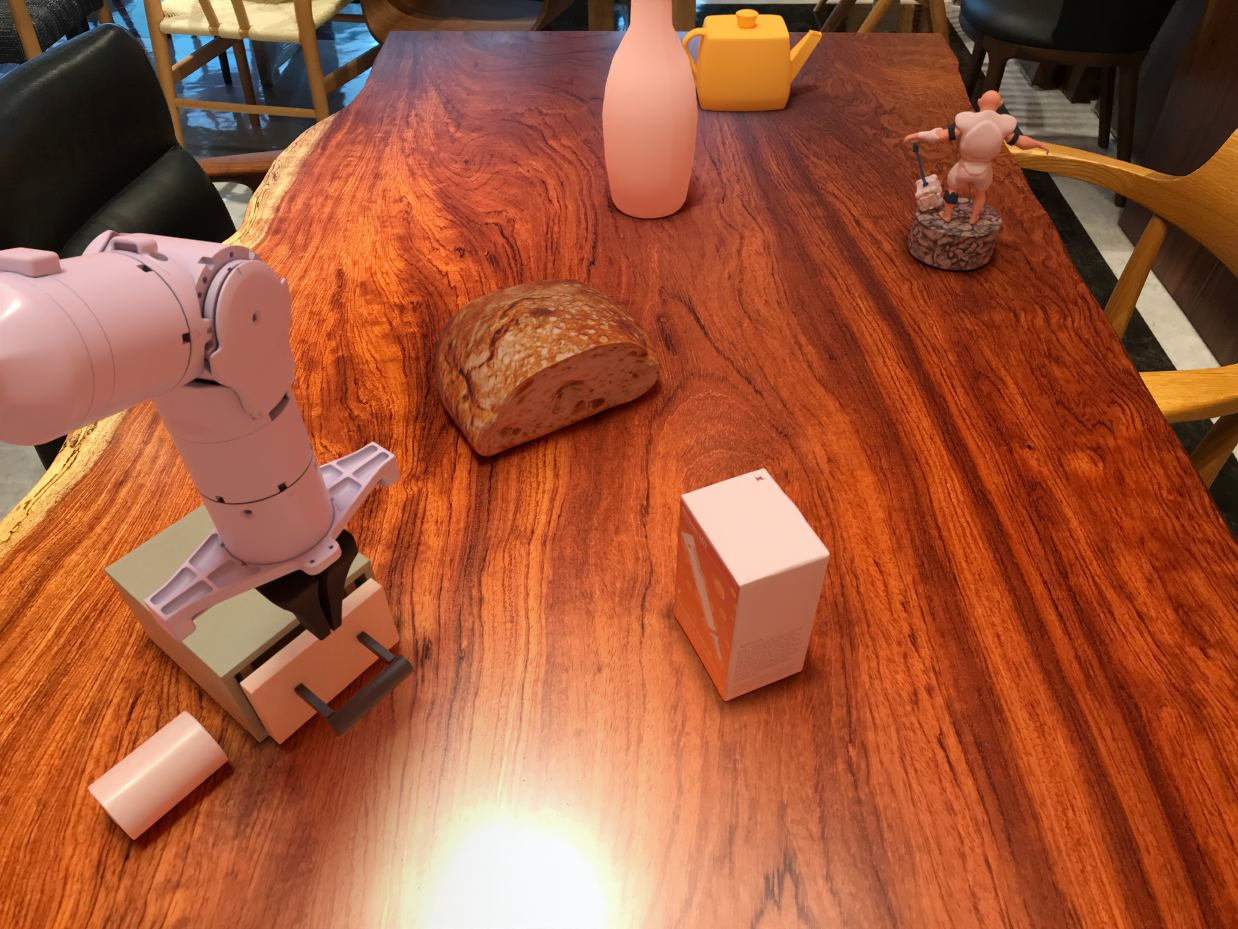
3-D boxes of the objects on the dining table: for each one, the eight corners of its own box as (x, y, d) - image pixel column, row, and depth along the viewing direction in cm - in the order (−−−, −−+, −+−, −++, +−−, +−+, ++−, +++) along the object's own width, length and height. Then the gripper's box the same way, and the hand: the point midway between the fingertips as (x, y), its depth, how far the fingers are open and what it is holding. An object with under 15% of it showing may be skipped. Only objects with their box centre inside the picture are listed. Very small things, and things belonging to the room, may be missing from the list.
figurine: (1012, 238, 102) (1065, 79, 89) (1019, 278, 96) (1077, 114, 83) (882, 226, 104) (916, 69, 92) (882, 264, 98) (918, 103, 86)
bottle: (669, 232, 104) (677, -2, 86) (587, 211, 108) (578, -17, 90) (708, 192, 111) (722, -32, 93) (629, 173, 115) (629, -45, 97)
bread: (472, 471, 76) (455, 380, 69) (413, 355, 87) (394, 267, 80) (682, 403, 82) (687, 313, 75) (601, 303, 94) (598, 217, 87)
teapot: (807, 79, 137) (818, -4, 128) (819, 112, 128) (832, 25, 119) (678, 80, 137) (681, -2, 129) (681, 113, 128) (684, 27, 120)
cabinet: (393, 629, 64) (370, 559, 59) (260, 743, 58) (220, 677, 52) (280, 543, 70) (250, 472, 65) (149, 637, 64) (103, 569, 58)
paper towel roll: (219, 752, 58) (237, 764, 55) (124, 831, 55) (138, 849, 51) (179, 704, 57) (196, 714, 54) (80, 783, 53) (91, 798, 50)
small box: (671, 615, 65) (677, 492, 56) (747, 587, 66) (765, 464, 57) (723, 705, 59) (739, 586, 50) (804, 673, 61) (834, 552, 52)
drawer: (446, 675, 60) (431, 622, 56) (326, 788, 55) (299, 738, 50) (292, 556, 68) (269, 501, 64) (173, 645, 62) (138, 591, 58)
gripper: (165, 596, 38) (259, 750, 47) (418, 418, 46) (455, 581, 55) (81, 520, 41) (185, 679, 50) (331, 367, 49) (381, 529, 58)
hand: (321, 624), depth 53 cm, fingers closed
